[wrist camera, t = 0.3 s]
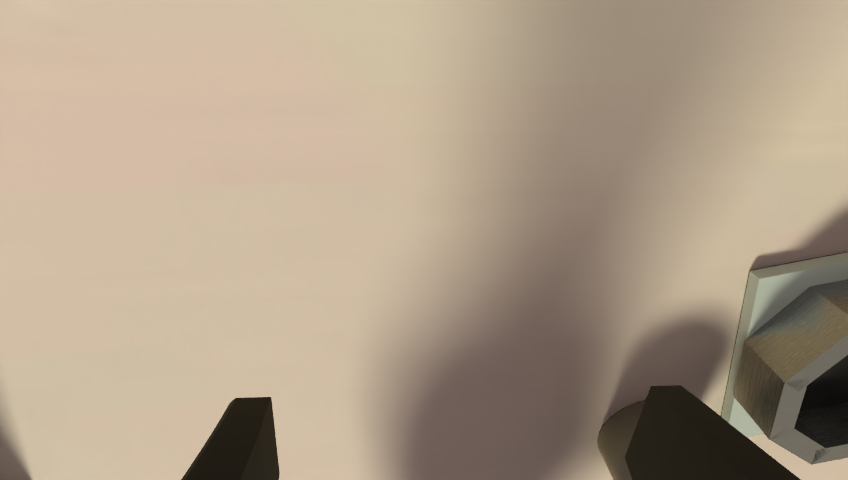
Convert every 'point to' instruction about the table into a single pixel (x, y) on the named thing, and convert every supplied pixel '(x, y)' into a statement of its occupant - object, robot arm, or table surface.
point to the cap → (619, 439)
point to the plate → (773, 314)
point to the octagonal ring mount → (801, 375)
